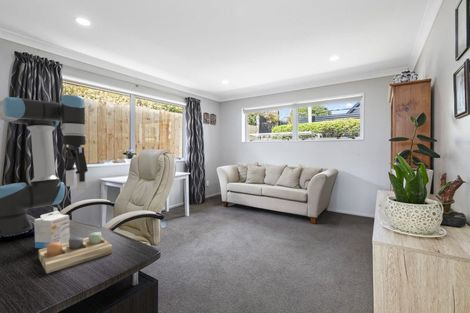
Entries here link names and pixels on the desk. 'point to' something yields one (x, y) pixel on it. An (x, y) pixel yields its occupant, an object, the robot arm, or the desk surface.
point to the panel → (74, 255)
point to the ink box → (51, 229)
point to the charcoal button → (75, 242)
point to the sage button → (95, 238)
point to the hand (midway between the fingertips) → (75, 188)
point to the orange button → (54, 248)
